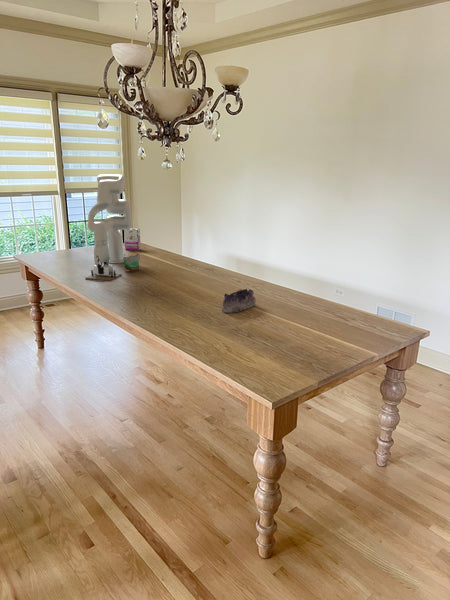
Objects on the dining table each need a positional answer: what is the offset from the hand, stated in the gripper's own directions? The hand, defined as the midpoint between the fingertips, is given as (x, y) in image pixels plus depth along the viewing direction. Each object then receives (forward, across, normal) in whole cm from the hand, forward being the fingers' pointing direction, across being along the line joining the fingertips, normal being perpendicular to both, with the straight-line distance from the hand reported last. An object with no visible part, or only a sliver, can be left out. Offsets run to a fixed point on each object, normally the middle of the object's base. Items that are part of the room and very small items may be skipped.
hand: (103, 272), depth 261 cm
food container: (+4, -20, +10) cm, 23 cm away
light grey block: (+1, 0, 0) cm, 1 cm away
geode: (+4, +28, +91) cm, 95 cm away
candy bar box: (+4, -80, -22) cm, 83 cm away
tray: (+3, 0, 0) cm, 3 cm away
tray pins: (+2, 0, 0) cm, 2 cm away
